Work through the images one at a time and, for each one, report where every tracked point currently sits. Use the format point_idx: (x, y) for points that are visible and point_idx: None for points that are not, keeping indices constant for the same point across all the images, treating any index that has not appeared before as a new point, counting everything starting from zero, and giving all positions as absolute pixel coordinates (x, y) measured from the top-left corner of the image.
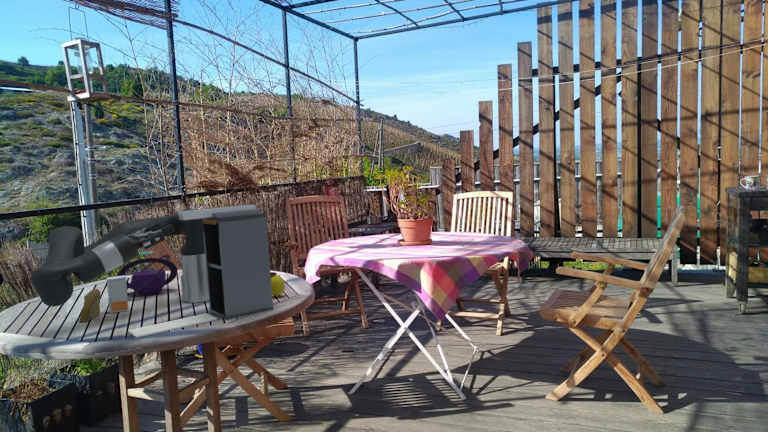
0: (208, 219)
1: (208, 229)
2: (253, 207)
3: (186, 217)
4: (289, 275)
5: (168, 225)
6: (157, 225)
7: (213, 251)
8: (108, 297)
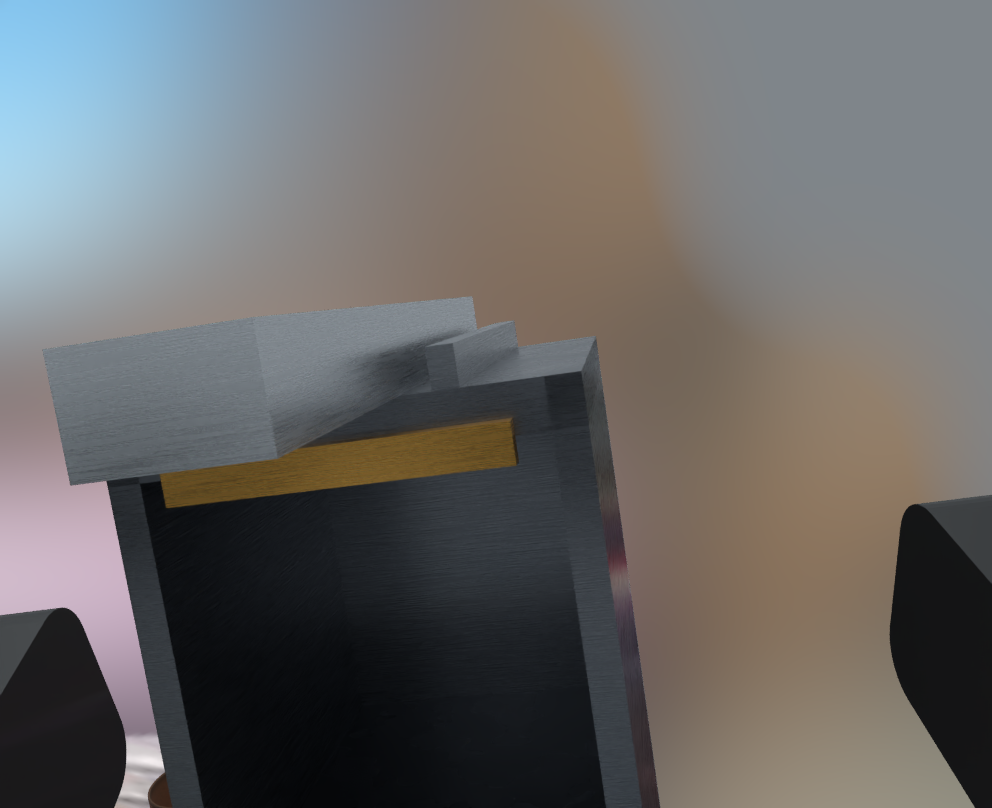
0: None
1: (182, 567)
2: (471, 312)
3: (288, 410)
4: (131, 738)
5: (964, 542)
6: (55, 694)
7: (240, 776)
8: None
